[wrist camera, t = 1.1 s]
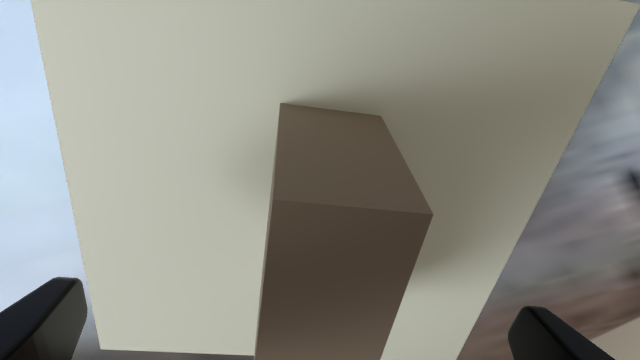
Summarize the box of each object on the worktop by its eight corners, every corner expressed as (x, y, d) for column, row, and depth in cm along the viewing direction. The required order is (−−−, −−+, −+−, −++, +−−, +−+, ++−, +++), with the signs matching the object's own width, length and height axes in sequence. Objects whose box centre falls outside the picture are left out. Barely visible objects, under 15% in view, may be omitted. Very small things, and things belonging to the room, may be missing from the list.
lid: (110, 329, 14) (30, 495, 9) (35, -105, 7) (-289, -172, 3) (446, 344, 15) (504, 492, 11) (614, -1, 9) (887, 42, 5)
